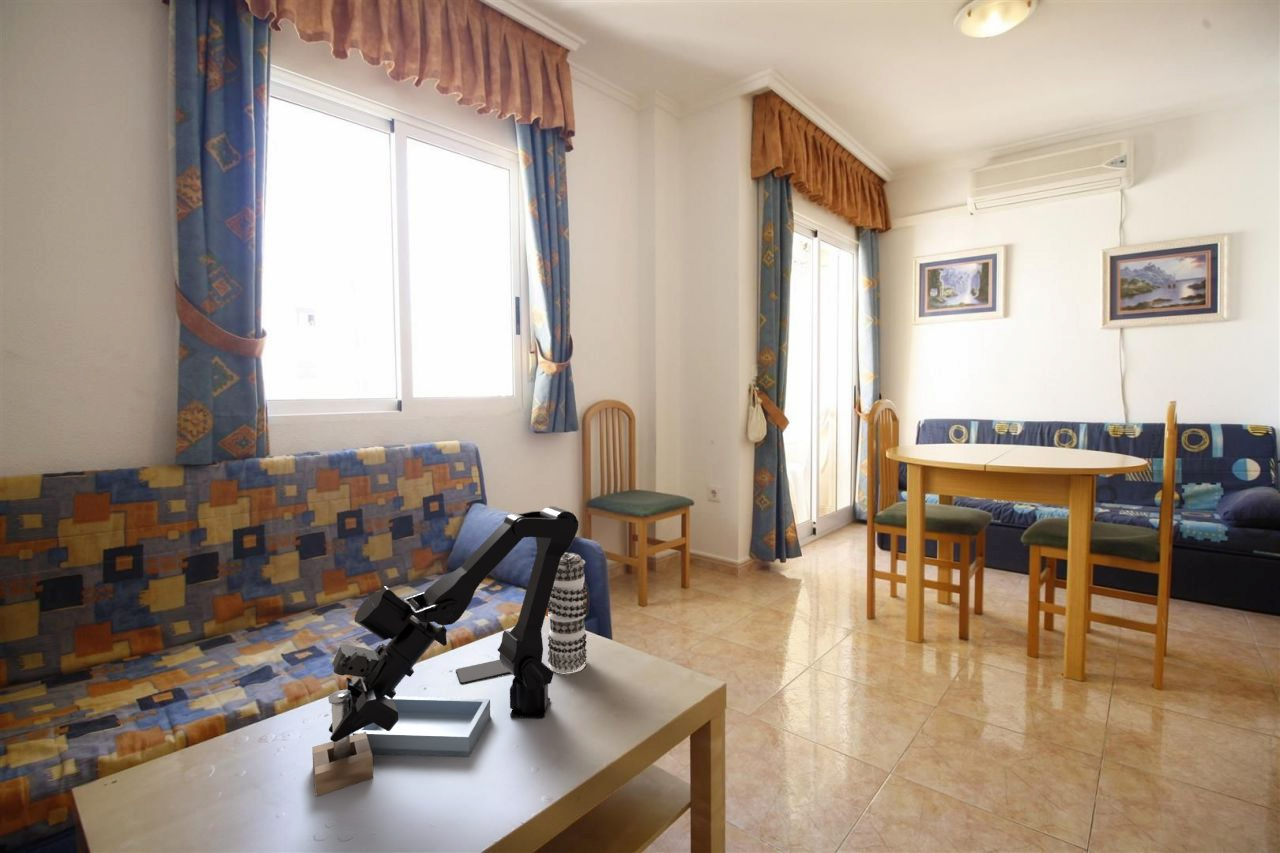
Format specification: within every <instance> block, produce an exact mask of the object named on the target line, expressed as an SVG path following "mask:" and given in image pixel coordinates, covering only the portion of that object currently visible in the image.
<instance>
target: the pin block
mask: <svg viewBox="0 0 1280 853" xmlns="http://www.w3.org/2000/svg"><path fill="white" fill-rule="evenodd" d="M311 751H312V769H313V770H312V771H313V780H314V787H315V796H316V797H319V796H321V795H325V794H329V793H332V792H334V791H336V790H337V791H338V790H340V789H344V788H346V787H349V786H350V787H351V786H352V785H356V784H360V783H361V782H362V783H363V782H365V781H368V780H371V779H374V764H373V763H374V762H373V759H374V758H373V754H372V753H371V749H370V746H369V742H368V738H367V735H366V734H365V732H364V734H363V733H362V734H361V733H360V734H356V735H353V734H352V735H350V754H351V756H350V757H347V758H344V759H340V760H337V761H334V749H333V741H329V742H325V743H321V744H317V745H314V746H312V750H311Z"/></svg>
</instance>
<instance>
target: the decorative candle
mask: <svg viewBox="0 0 1280 853" xmlns="http://www.w3.org/2000/svg"><path fill="white" fill-rule="evenodd" d="M585 564H586V560H584V559H583V558H582V557H581V555H579V554H578V553H574V552H565V553H564V555H563V556H562V557H561V560H560V563H559V567H558V571H557V575H556V578H555V582H554V586H553V589H552V593H551V597H550V600H549V604H548V608H547V610H548V611H547V613H548V614H547V616H548V618H549V621H550V622H549V624H550V625H549V634H548V637H547V640H548V644H547V646H548V647H549V649H548V652H547V655H548V658H547V662H548V668H550V669H551V670H552V671H555V672H559V673H567V672H573V670H574V671H575V670H577V669H578V668H580V667H581V666H582V665H583V664H584V662H585V661H586V662H587V658H588V656H587V651H588V650H587V648H586V647H587V640H586V639H587V637H588V636H587V633H586V627H585V626H586V625H585V617H586V615H587V609H586V608H587V605H588V604H587V602H585V600H587V598H588V594H587V592H588V587H587V586H585V585H584V583H585V581H586V580H587V577H585V573H584V569H585V568H584V567H585Z"/></svg>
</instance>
